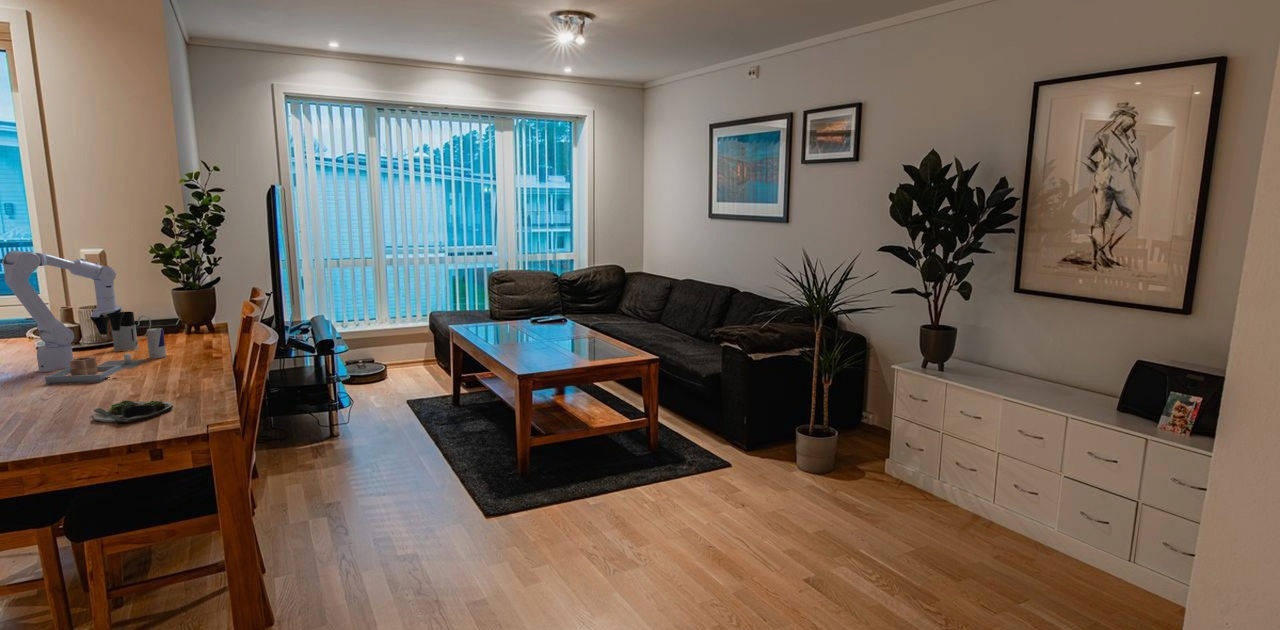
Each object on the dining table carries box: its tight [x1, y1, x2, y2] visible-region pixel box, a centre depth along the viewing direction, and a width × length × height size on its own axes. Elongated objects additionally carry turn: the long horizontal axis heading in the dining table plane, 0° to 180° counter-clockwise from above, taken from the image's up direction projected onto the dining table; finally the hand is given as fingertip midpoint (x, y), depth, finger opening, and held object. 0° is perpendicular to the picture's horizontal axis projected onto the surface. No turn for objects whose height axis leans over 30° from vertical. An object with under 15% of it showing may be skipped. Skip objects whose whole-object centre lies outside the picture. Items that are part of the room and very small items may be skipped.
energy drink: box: [145, 327, 167, 360], centre depth 264 cm, size 5×5×12 cm
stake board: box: [97, 353, 152, 370], centre depth 253 cm, size 14×14×4 cm
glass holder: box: [111, 311, 152, 352], centre depth 281 cm, size 9×14×15 cm, turn 104°
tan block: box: [70, 356, 99, 376], centre depth 238 cm, size 5×7×6 cm
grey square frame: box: [44, 365, 123, 385], centre depth 238 cm, size 16×14×2 cm
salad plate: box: [93, 400, 174, 424], centre depth 200 cm, size 19×18×5 cm
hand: (110, 332), depth 263 cm, fingers open, 7 cm apart
